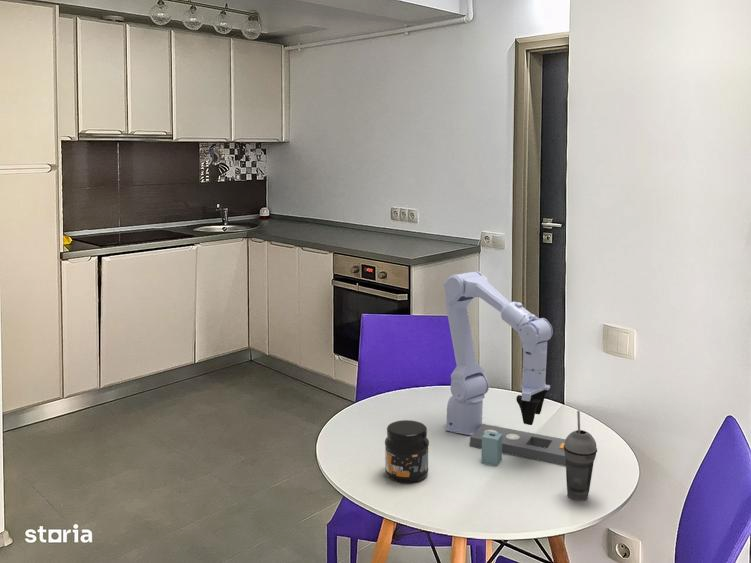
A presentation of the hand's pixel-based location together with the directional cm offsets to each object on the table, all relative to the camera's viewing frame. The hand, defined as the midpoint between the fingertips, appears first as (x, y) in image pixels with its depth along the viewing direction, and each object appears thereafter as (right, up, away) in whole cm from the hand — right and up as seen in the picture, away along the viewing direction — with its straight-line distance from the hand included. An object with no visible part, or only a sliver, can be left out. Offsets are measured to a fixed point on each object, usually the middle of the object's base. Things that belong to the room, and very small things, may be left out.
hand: (532, 418), depth 181 cm
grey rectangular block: (-10, -10, -1) cm, 15 cm away
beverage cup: (+6, -14, -19) cm, 24 cm away
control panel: (-1, -9, +6) cm, 11 cm away
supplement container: (-32, -12, -8) cm, 35 cm away
